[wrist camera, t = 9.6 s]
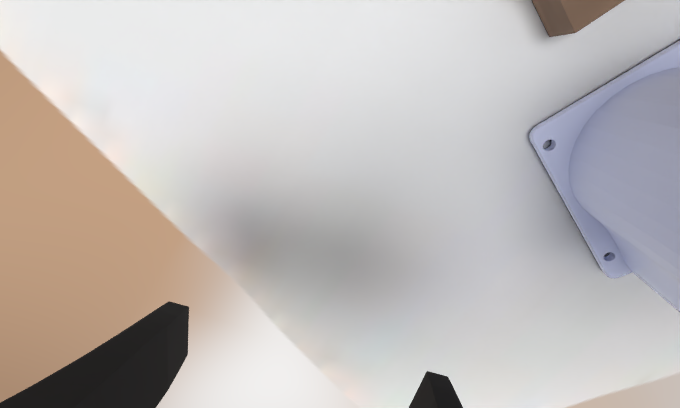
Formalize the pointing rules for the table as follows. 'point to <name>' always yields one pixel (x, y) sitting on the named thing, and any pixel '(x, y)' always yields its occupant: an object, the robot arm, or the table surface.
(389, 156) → the table surface
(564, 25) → the dock
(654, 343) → the table surface
